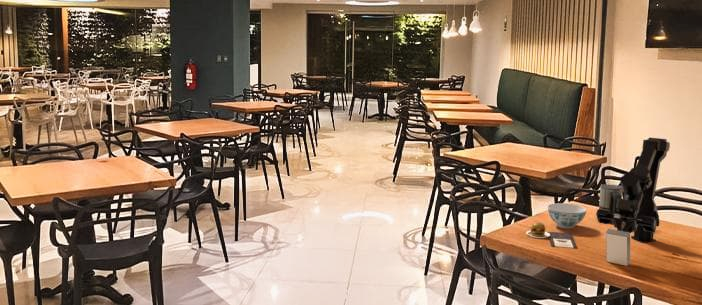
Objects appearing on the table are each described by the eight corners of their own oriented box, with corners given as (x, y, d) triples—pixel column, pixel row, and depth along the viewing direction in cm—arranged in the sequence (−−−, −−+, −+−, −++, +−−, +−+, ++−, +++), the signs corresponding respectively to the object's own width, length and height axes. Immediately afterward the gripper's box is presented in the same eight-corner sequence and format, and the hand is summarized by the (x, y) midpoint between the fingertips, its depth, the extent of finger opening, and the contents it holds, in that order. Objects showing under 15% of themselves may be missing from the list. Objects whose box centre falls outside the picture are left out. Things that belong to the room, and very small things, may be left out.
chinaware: (580, 233, 250) (582, 214, 248) (541, 227, 258) (543, 209, 256) (588, 224, 262) (590, 206, 261) (551, 219, 270) (552, 201, 269)
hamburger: (550, 243, 239) (551, 229, 238) (518, 238, 245) (519, 224, 244) (557, 234, 249) (558, 221, 248) (526, 230, 255) (527, 217, 254)
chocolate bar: (571, 233, 249) (577, 247, 232) (571, 235, 249) (577, 250, 232) (547, 231, 251) (551, 245, 234) (547, 233, 251) (551, 248, 234)
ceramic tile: (609, 257, 220) (608, 228, 215) (630, 261, 216) (629, 232, 211) (606, 261, 218) (605, 233, 213) (628, 266, 214) (627, 237, 209)
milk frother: (592, 218, 273) (595, 184, 270) (624, 216, 277) (627, 182, 274) (614, 227, 259) (617, 192, 257) (647, 225, 263) (650, 190, 261)
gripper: (600, 185, 222) (587, 222, 216) (657, 194, 211) (646, 233, 204) (604, 203, 230) (592, 240, 223) (661, 212, 219) (649, 251, 212)
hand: (619, 240), depth 215 cm, fingers closed
